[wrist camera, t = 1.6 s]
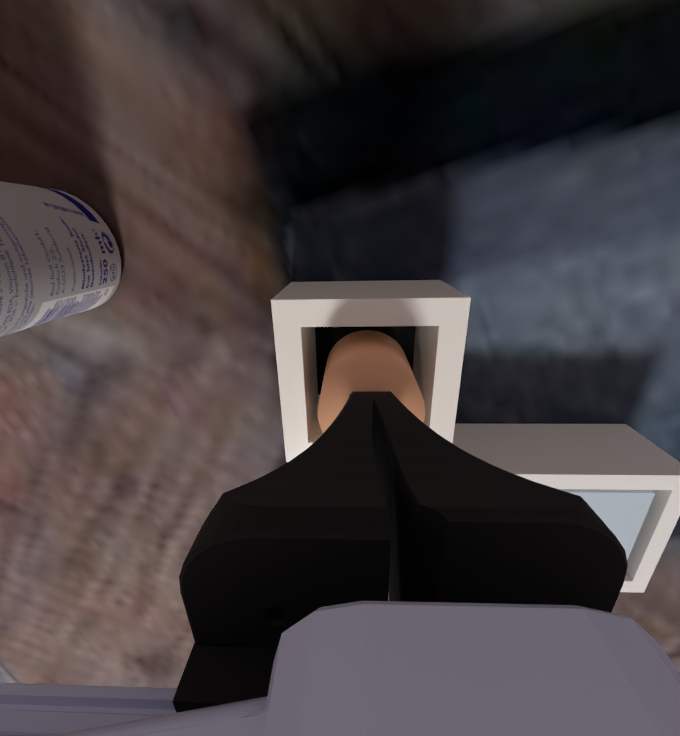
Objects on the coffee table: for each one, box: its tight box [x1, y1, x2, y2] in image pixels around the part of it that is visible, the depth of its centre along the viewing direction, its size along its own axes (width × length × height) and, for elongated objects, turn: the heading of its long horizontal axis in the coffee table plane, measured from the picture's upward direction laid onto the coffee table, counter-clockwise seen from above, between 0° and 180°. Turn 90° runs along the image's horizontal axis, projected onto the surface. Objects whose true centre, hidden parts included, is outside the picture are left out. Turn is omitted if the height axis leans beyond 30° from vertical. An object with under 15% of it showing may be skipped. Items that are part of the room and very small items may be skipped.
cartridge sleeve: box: [453, 424, 680, 592], centre depth 18 cm, size 14×7×4 cm, turn 91°
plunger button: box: [318, 330, 425, 433], centre depth 13 cm, size 4×4×4 cm
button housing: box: [271, 280, 471, 462], centre depth 15 cm, size 7×7×4 cm
